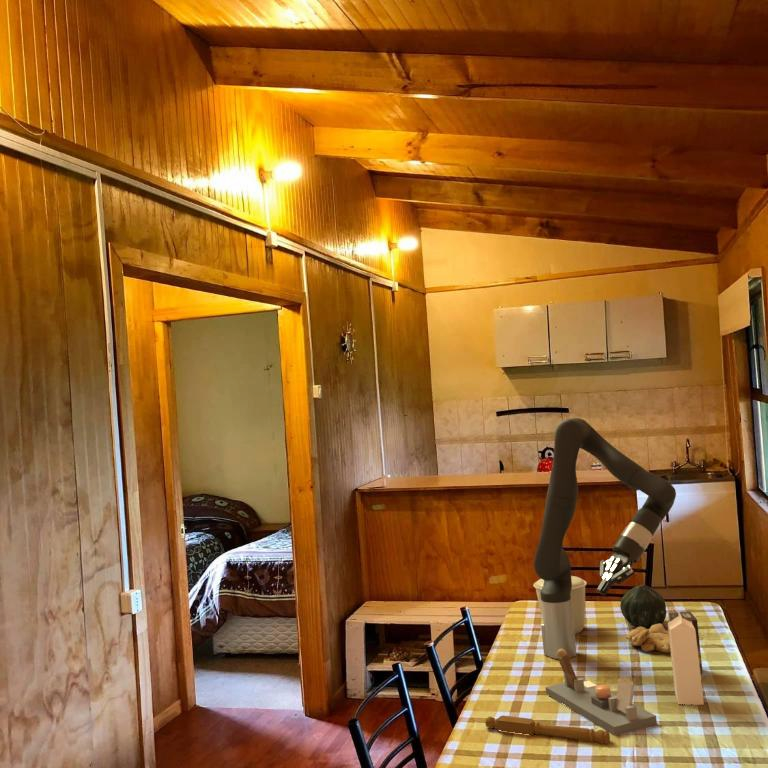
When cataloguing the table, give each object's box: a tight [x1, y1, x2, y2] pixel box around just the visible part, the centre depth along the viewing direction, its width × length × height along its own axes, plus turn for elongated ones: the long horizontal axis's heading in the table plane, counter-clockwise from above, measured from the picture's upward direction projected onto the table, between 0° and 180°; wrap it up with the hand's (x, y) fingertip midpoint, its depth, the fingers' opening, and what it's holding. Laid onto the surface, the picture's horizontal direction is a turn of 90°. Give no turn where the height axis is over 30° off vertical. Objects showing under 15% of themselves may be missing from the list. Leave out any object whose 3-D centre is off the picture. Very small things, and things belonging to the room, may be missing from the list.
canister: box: [533, 575, 587, 635], centre depth 253 cm, size 18×18×21 cm
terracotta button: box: [595, 684, 612, 698], centre depth 185 cm, size 4×4×2 cm
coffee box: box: [667, 611, 704, 680], centre depth 205 cm, size 9×6×16 cm
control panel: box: [545, 674, 658, 737], centre depth 187 cm, size 12×30×5 cm, turn 20°
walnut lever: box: [557, 649, 578, 688], centre depth 196 cm, size 3×3×11 cm
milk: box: [667, 610, 704, 706], centre depth 187 cm, size 6×6×22 cm
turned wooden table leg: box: [484, 715, 611, 745], centre depth 175 cm, size 3×3×30 cm
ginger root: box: [624, 623, 671, 653], centre depth 228 cm, size 16×16×8 cm
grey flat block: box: [615, 677, 635, 713], centre depth 178 cm, size 1×5×7 cm, turn 18°
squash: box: [619, 584, 667, 629], centre depth 252 cm, size 14×15×15 cm
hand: (600, 593), depth 202 cm, fingers closed
